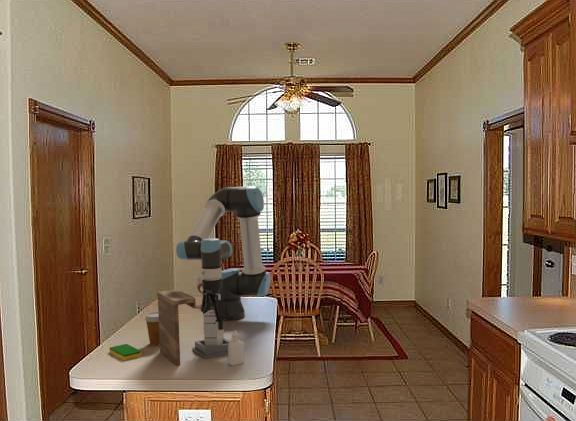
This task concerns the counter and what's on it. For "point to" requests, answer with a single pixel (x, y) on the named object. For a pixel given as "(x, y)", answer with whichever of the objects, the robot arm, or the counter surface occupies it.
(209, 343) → the syrup box
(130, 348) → the dish sponge
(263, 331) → the counter surface
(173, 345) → the brown l-shaped bracket
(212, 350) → the socket
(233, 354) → the eye dropper bottle
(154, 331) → the disposable coffee cup
